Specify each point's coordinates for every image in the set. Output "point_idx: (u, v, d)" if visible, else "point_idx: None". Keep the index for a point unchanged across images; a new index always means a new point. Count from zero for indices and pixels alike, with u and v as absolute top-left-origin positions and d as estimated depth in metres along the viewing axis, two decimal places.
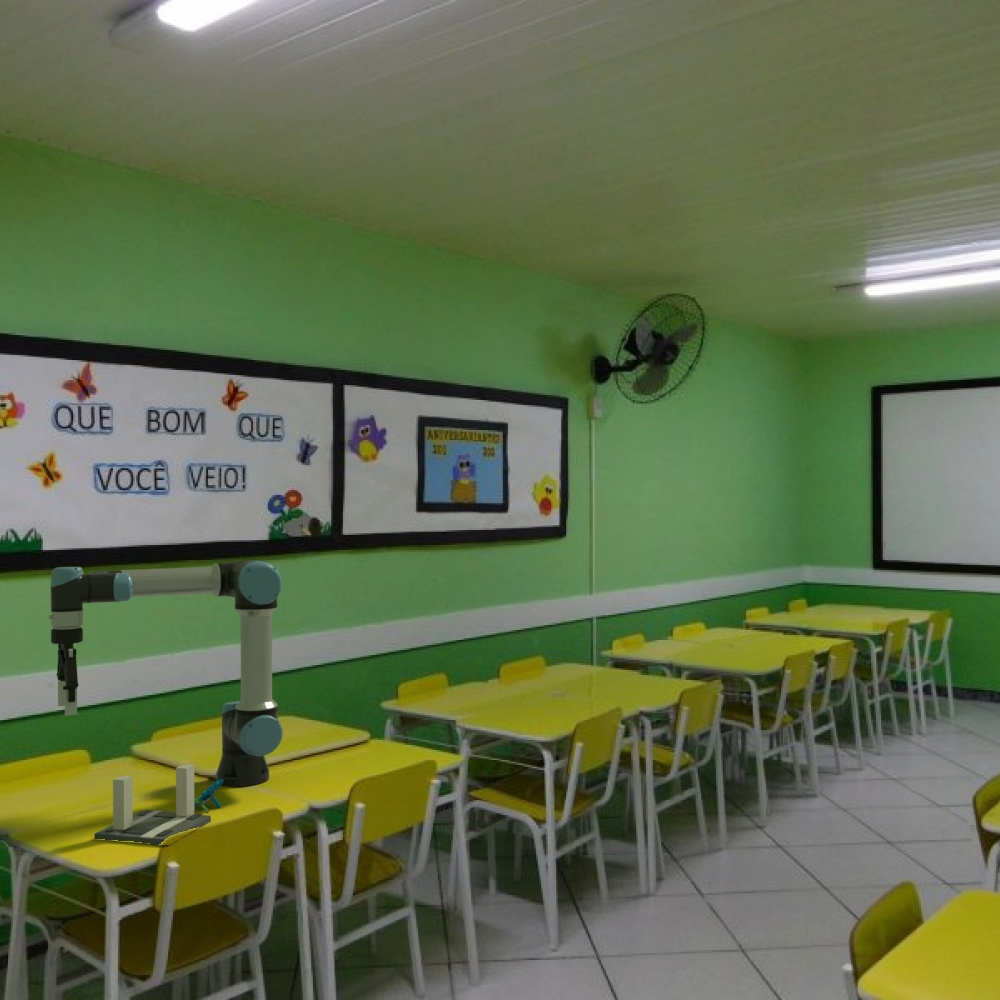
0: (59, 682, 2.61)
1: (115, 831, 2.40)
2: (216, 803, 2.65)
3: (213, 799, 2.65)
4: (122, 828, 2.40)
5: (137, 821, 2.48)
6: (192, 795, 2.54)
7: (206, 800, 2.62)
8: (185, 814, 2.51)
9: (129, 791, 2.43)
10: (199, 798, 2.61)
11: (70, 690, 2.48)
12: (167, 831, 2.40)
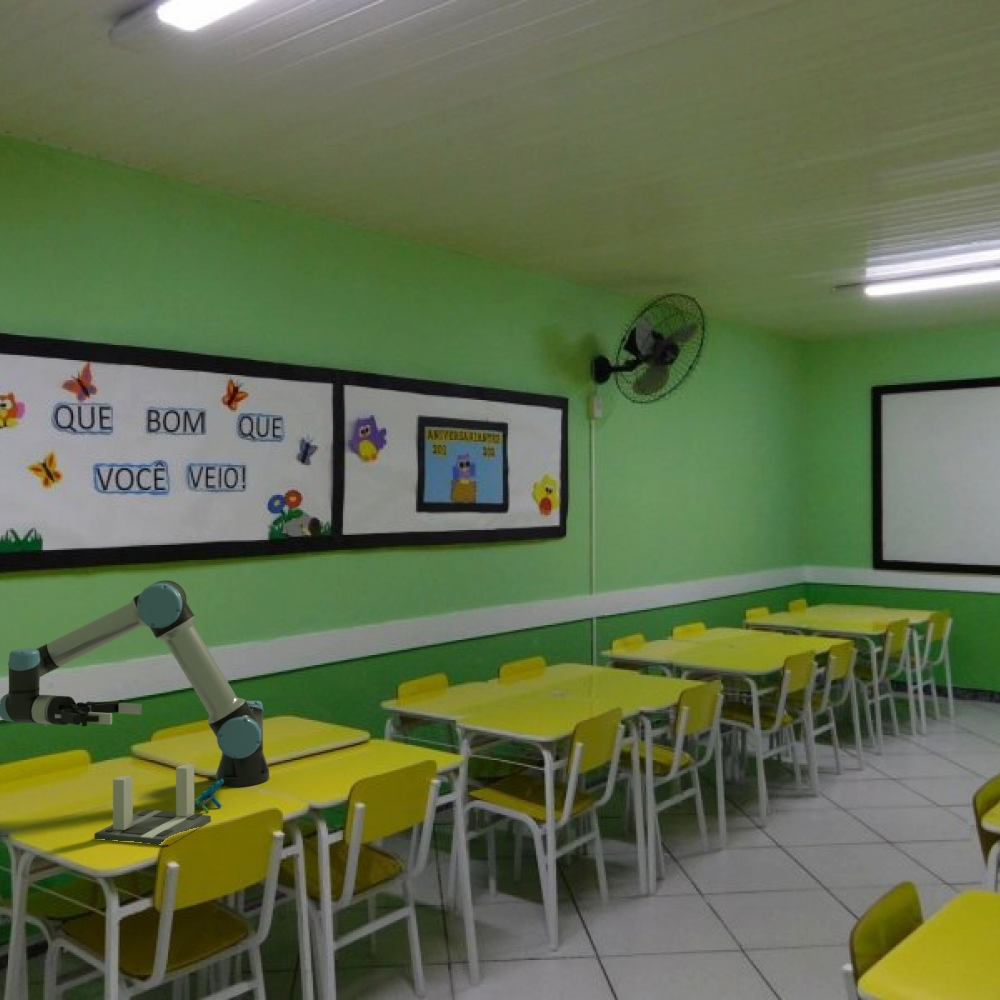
0: (119, 712, 2.67)
1: (115, 831, 2.40)
2: (216, 803, 2.64)
3: (213, 799, 2.65)
4: (122, 828, 2.40)
5: (137, 821, 2.48)
6: (192, 795, 2.54)
7: (206, 800, 2.62)
8: (185, 814, 2.51)
9: (129, 791, 2.43)
10: (199, 798, 2.61)
11: (85, 720, 2.54)
12: (167, 831, 2.40)
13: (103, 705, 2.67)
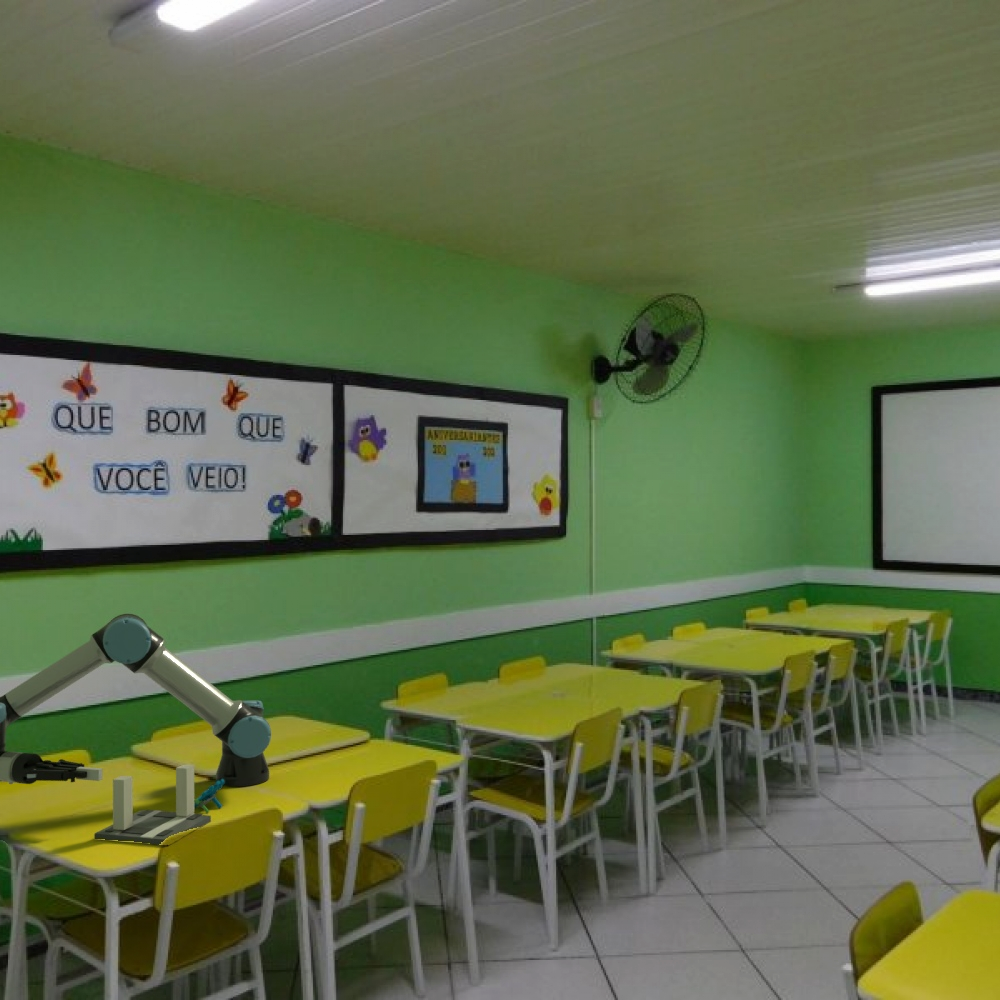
0: None
1: (115, 831, 2.40)
2: (217, 803, 2.64)
3: (214, 799, 2.65)
4: (122, 828, 2.40)
5: (137, 821, 2.48)
6: (192, 795, 2.54)
7: (206, 800, 2.62)
8: (185, 814, 2.51)
9: (129, 791, 2.43)
10: (199, 798, 2.61)
11: (73, 776, 2.48)
12: (167, 831, 2.40)
13: (64, 767, 2.52)
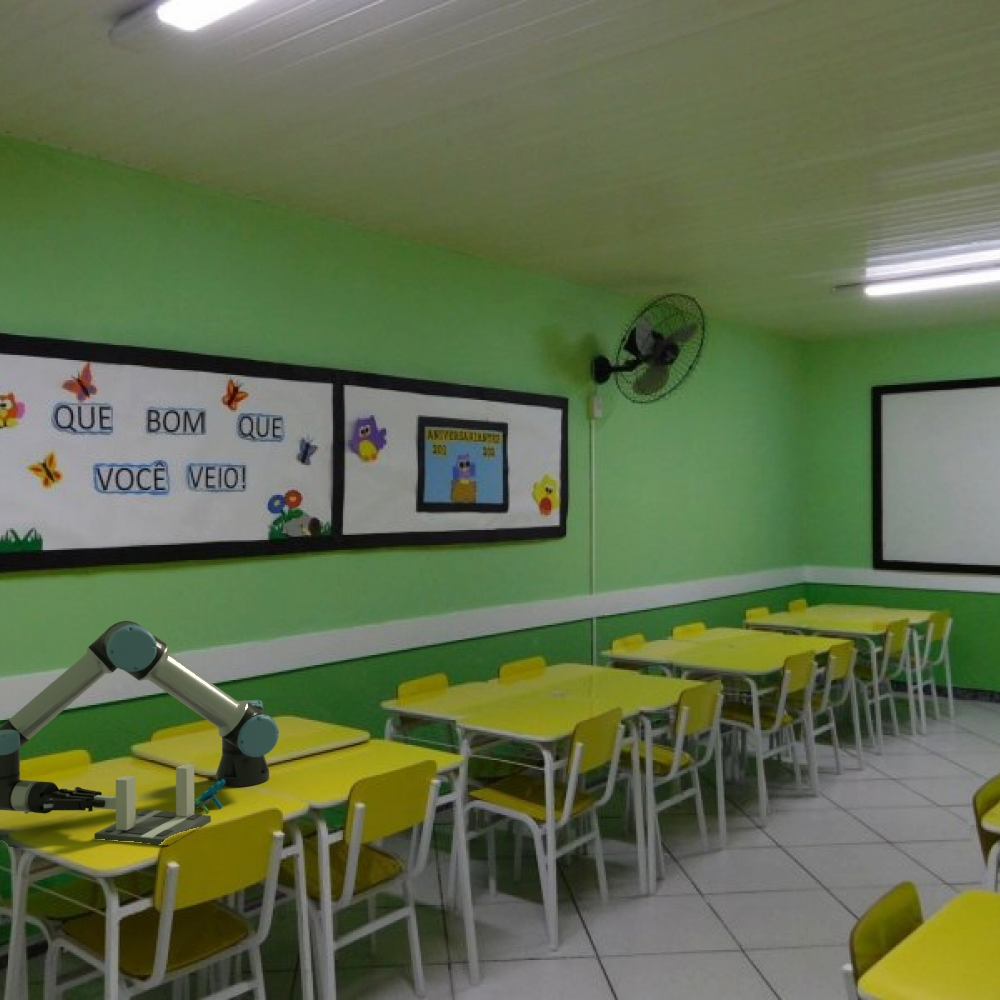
0: None
1: (115, 831, 2.40)
2: (217, 804, 2.64)
3: (214, 799, 2.64)
4: (125, 828, 2.40)
5: (137, 821, 2.48)
6: (192, 795, 2.54)
7: (207, 800, 2.62)
8: (185, 814, 2.51)
9: (132, 791, 2.42)
10: (200, 798, 2.61)
11: (91, 805, 2.42)
12: (167, 831, 2.40)
13: (81, 795, 2.46)
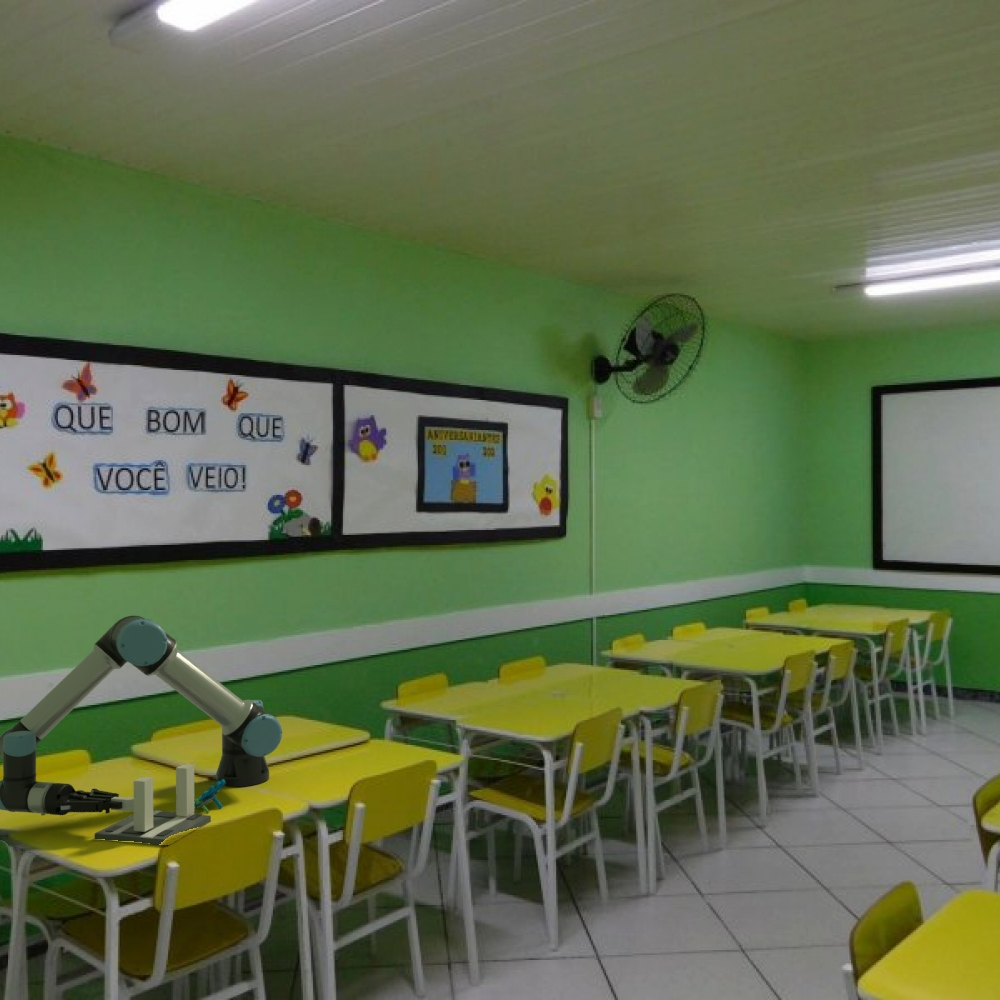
0: None
1: (115, 831, 2.40)
2: (217, 804, 2.64)
3: (214, 799, 2.64)
4: (143, 830, 2.39)
5: None
6: (192, 795, 2.54)
7: (207, 800, 2.62)
8: (185, 814, 2.51)
9: (150, 792, 2.41)
10: (200, 798, 2.61)
11: (108, 806, 2.41)
12: (167, 831, 2.40)
13: (98, 797, 2.45)
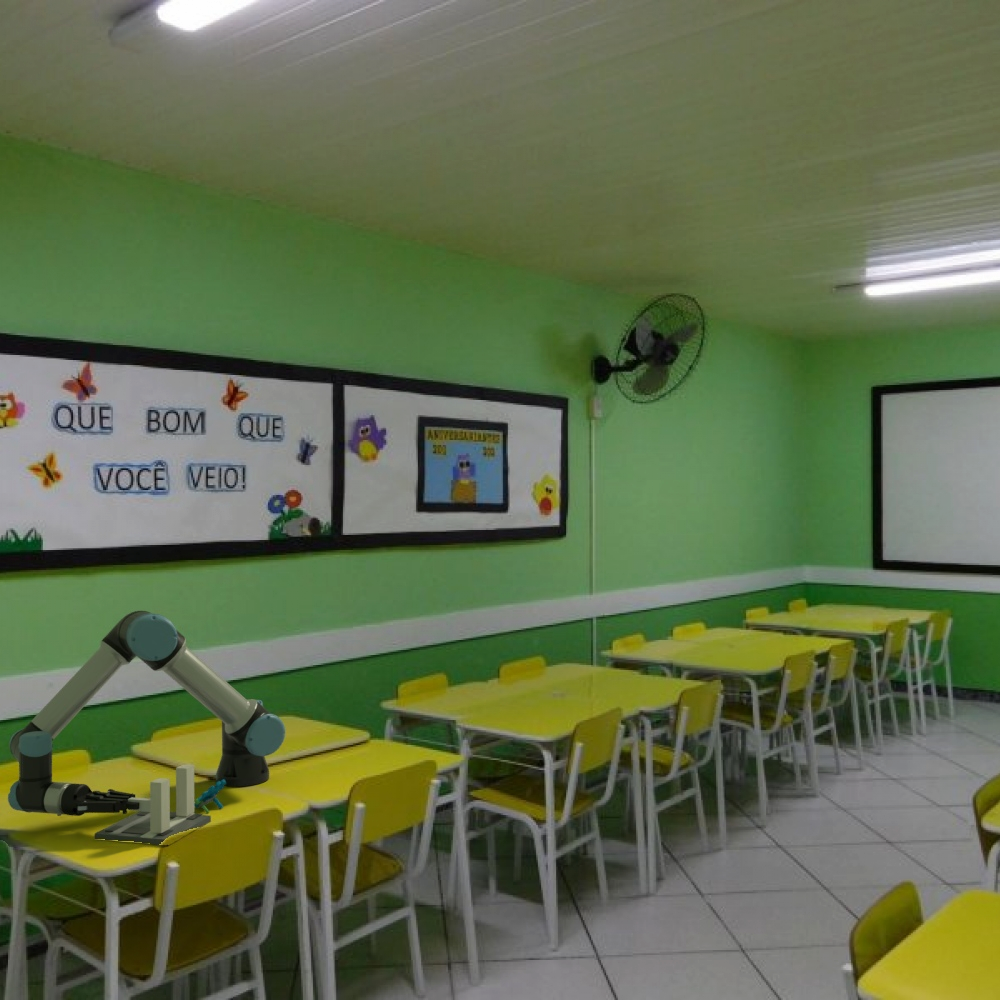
0: None
1: (115, 831, 2.40)
2: (218, 804, 2.64)
3: (215, 800, 2.64)
4: (159, 831, 2.38)
5: (137, 821, 2.48)
6: (192, 795, 2.54)
7: (207, 800, 2.62)
8: (185, 814, 2.51)
9: (166, 793, 2.40)
10: (200, 798, 2.61)
11: (125, 807, 2.40)
12: (167, 831, 2.40)
13: (114, 797, 2.44)
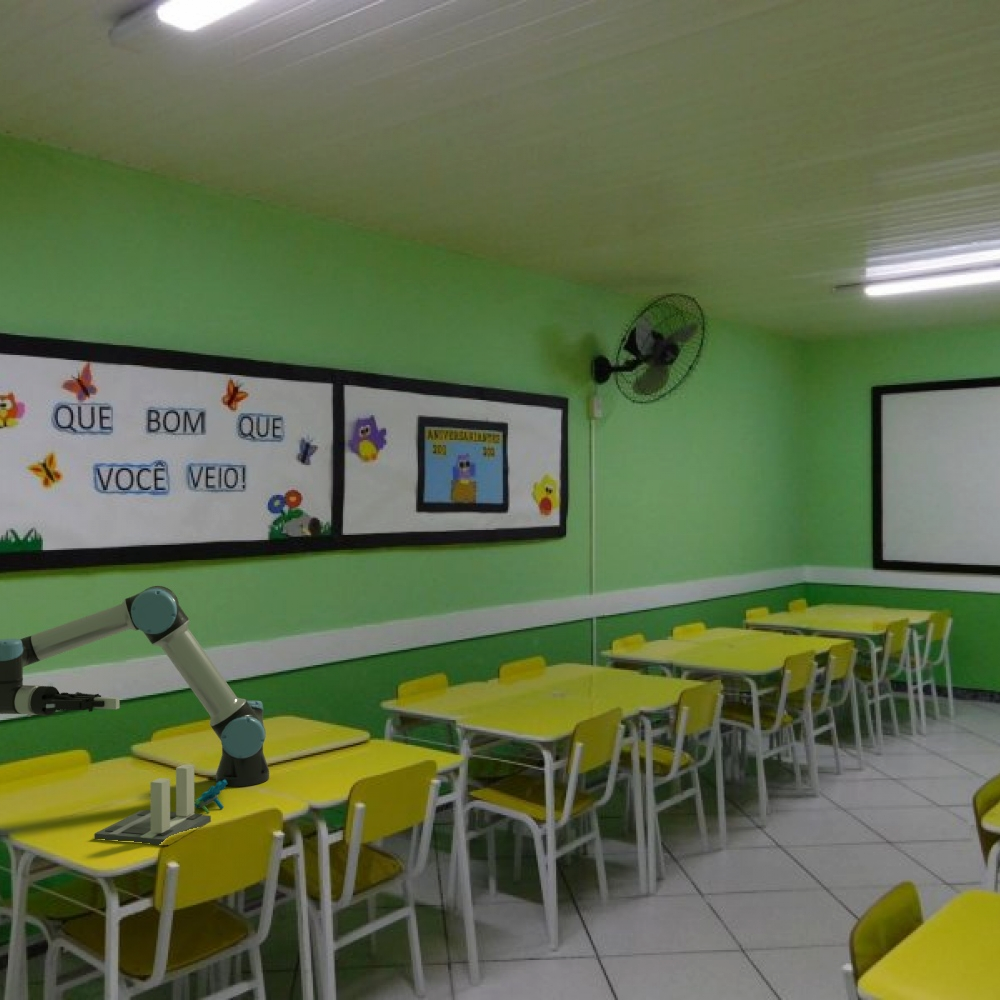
0: None
1: (115, 831, 2.40)
2: (218, 804, 2.64)
3: (215, 800, 2.64)
4: (160, 831, 2.38)
5: (137, 821, 2.48)
6: (192, 795, 2.54)
7: (207, 801, 2.62)
8: (185, 814, 2.51)
9: (166, 793, 2.40)
10: (200, 798, 2.61)
11: (91, 705, 2.55)
12: (167, 831, 2.40)
13: (81, 698, 2.59)
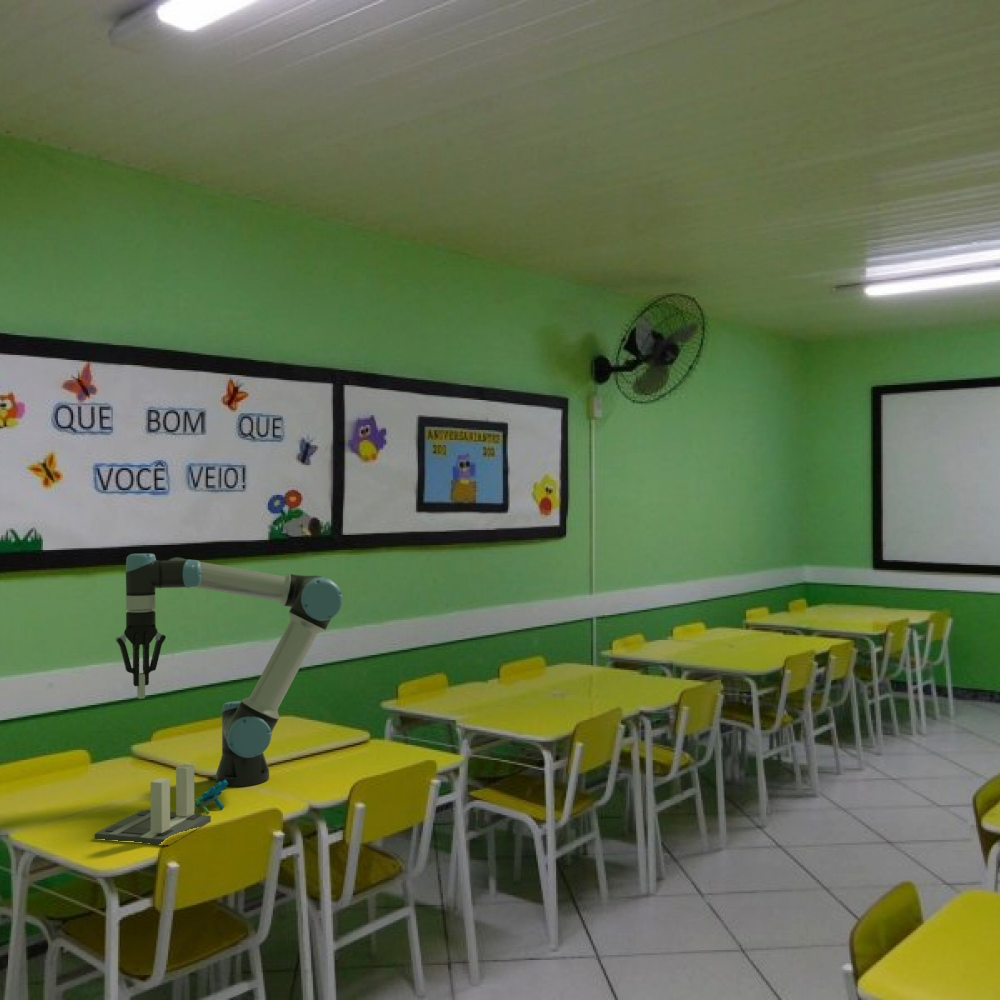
0: (140, 674, 2.71)
1: (115, 831, 2.40)
2: (219, 804, 2.63)
3: (216, 800, 2.64)
4: (160, 831, 2.38)
5: (137, 821, 2.48)
6: (192, 795, 2.54)
7: (207, 801, 2.61)
8: (185, 814, 2.51)
9: (166, 793, 2.40)
10: (200, 799, 2.61)
11: (133, 674, 2.69)
12: (167, 831, 2.40)
13: (144, 656, 2.70)
